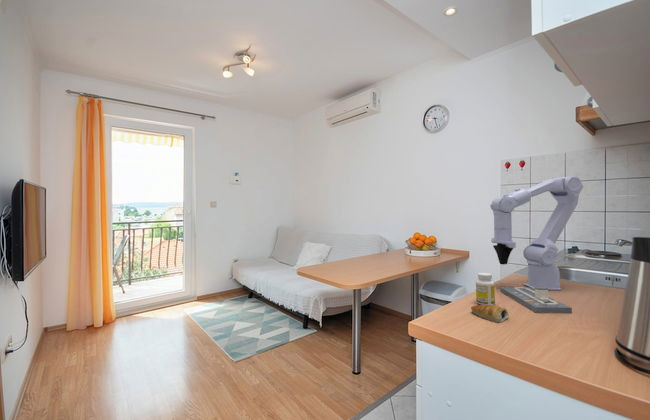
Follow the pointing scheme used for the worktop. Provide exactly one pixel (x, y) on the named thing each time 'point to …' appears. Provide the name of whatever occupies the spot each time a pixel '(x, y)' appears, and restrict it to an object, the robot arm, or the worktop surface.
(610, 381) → the worktop surface
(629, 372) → the worktop surface
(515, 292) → the console
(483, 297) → the supplement bottle
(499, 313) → the pastry
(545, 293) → the fader tab
